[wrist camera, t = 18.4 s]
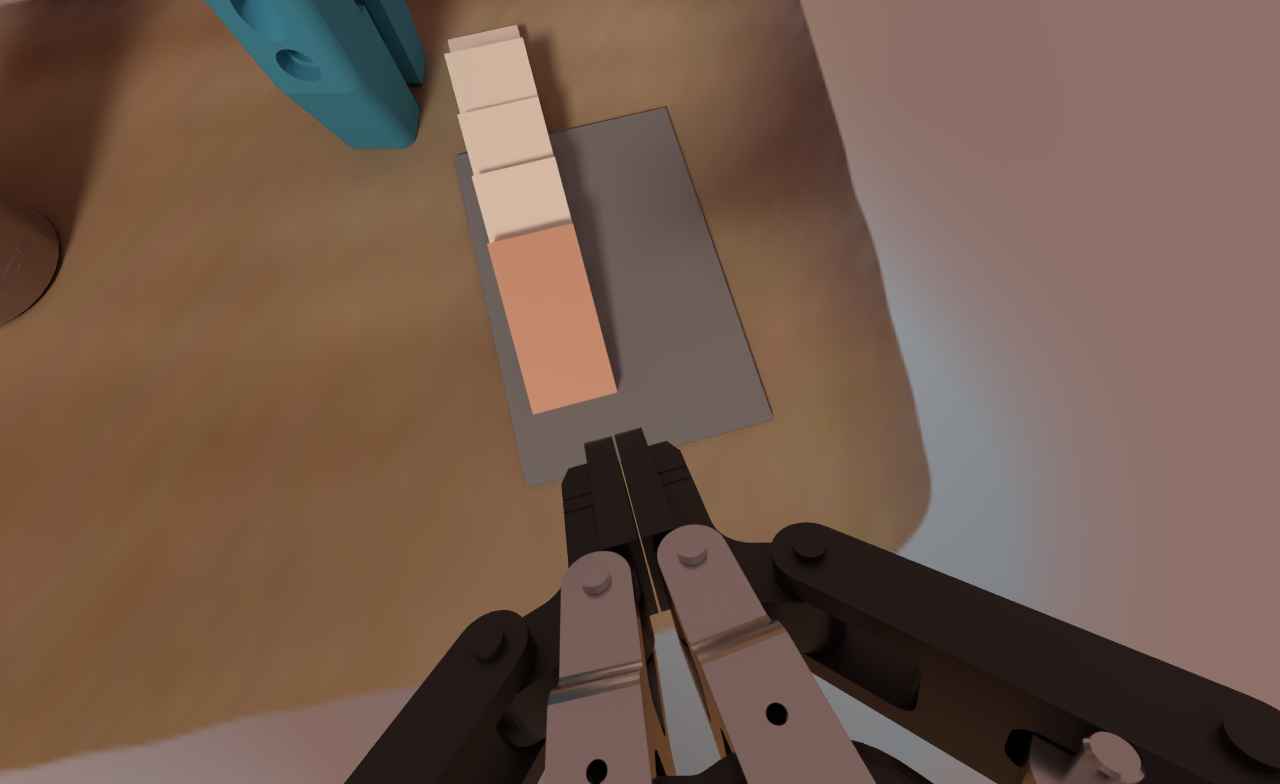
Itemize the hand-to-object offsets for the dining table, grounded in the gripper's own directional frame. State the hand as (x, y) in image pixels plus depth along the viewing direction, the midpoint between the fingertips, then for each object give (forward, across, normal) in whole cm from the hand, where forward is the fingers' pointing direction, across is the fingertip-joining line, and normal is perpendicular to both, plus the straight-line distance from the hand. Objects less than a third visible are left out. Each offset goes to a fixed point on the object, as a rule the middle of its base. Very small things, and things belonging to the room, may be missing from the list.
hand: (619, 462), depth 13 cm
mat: (+22, -2, +2) cm, 22 cm away
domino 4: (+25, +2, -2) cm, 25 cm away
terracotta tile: (+16, +2, +7) cm, 17 cm away
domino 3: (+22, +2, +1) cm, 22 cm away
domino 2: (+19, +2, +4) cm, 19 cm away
